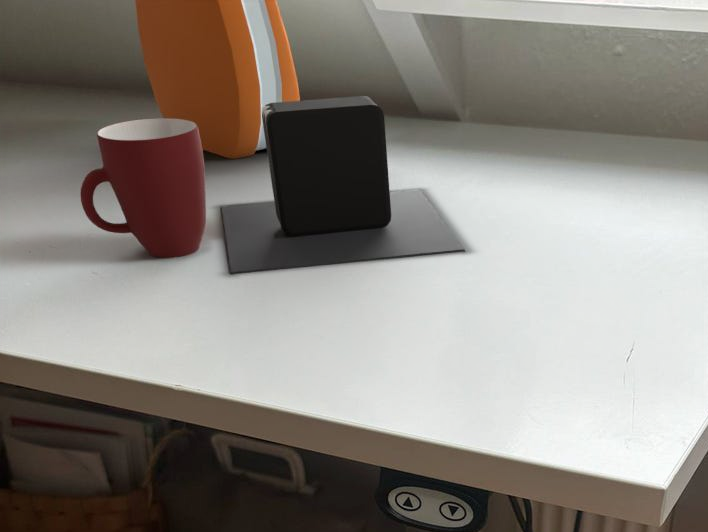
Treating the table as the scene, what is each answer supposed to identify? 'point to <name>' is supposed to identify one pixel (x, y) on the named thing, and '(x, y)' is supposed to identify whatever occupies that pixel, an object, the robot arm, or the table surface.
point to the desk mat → (334, 237)
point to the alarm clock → (218, 67)
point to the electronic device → (328, 165)
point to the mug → (153, 183)
